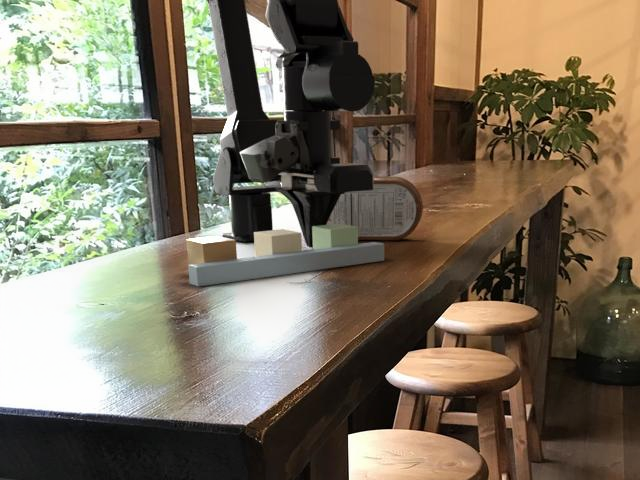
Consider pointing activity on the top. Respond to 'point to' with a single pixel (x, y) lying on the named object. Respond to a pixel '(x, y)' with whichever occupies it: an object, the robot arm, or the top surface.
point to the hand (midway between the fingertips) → (311, 246)
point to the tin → (381, 209)
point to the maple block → (210, 249)
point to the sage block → (334, 235)
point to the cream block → (277, 242)
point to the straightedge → (284, 263)
